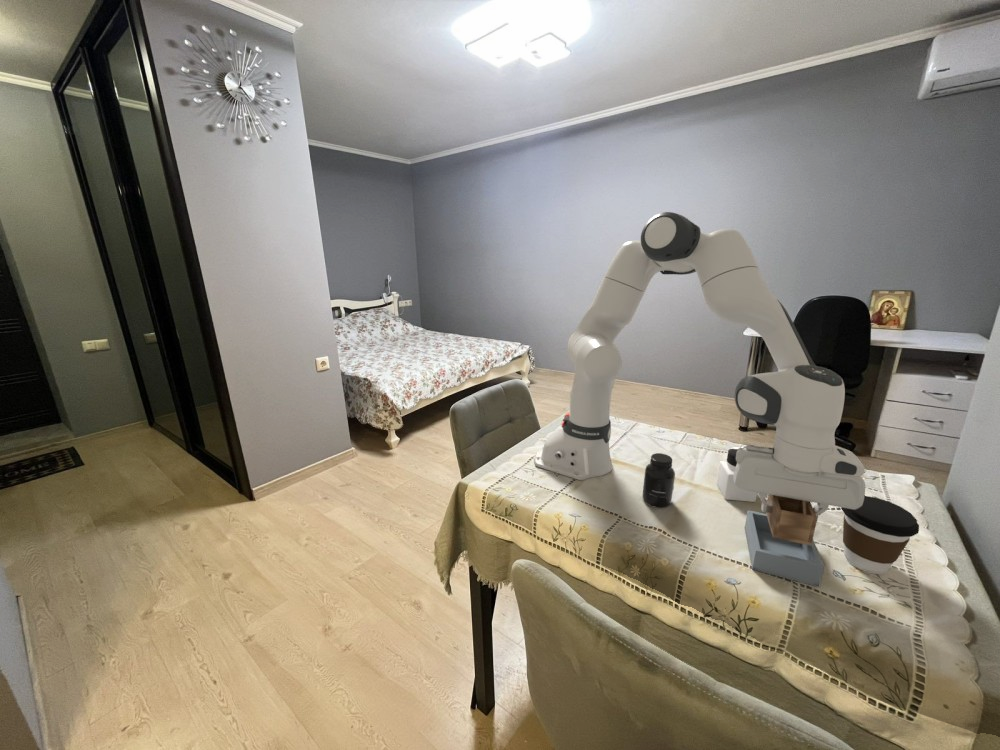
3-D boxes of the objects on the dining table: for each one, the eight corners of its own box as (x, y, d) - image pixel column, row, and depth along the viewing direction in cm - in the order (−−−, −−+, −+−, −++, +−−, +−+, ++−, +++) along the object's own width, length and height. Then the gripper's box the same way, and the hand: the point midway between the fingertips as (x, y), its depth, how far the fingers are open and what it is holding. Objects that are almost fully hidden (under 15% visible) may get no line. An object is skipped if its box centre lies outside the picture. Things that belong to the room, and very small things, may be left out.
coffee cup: (832, 568, 78) (846, 516, 74) (827, 536, 87) (839, 488, 83) (909, 593, 72) (929, 537, 69) (896, 556, 81) (912, 504, 77)
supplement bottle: (653, 511, 96) (658, 466, 93) (636, 495, 103) (640, 453, 99) (677, 505, 98) (683, 462, 95) (659, 490, 104) (664, 449, 101)
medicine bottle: (756, 502, 99) (764, 459, 95) (724, 499, 100) (731, 456, 96) (745, 486, 105) (752, 445, 102) (715, 484, 107) (722, 443, 103)
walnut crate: (772, 537, 77) (777, 510, 75) (765, 510, 85) (769, 485, 83) (811, 545, 75) (817, 518, 73) (800, 516, 82) (805, 491, 80)
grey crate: (752, 569, 78) (755, 550, 77) (744, 527, 90) (747, 510, 89) (819, 586, 74) (824, 566, 73) (801, 540, 86) (806, 522, 84)
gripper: (739, 450, 77) (729, 512, 81) (877, 470, 69) (858, 538, 73) (736, 436, 82) (726, 495, 86) (863, 453, 74) (846, 517, 78)
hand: (788, 515), depth 80 cm, fingers closed on walnut crate, 6 cm apart
